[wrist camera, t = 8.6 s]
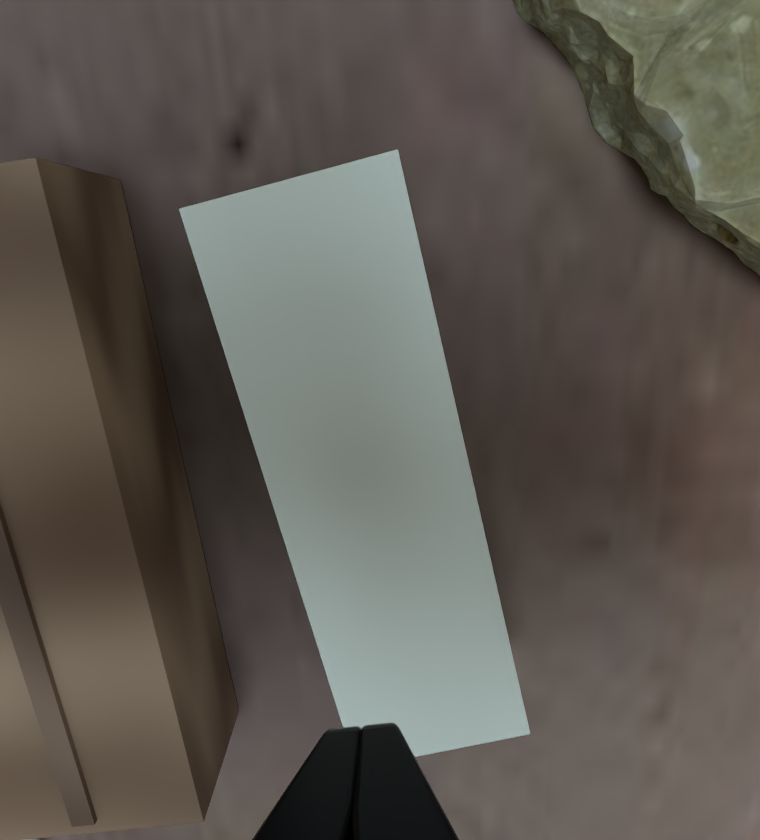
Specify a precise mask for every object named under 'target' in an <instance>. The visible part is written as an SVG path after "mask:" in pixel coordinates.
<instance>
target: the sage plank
mask: <svg viewBox="0 0 760 840" xmlns="http://www.w3.org/2000/svg"><path fill="white" fill-rule="evenodd" d="M179 211H180V214H181V217H182V221H183V224H184V227H185V230H186V233H187V236H188V239H189V243H190V246H191V249H192V252H193V255H194V258H195V262H196V265H197V268H198V271H199V274H200V277H201V280H202V284H203V287H204V290H205V293H206V296H207V299H208V303H209V306H210V309H211V312H212V315H213V318H214V321H215V325H216V328H217V331H218V334H219V337H220V340H221V344H222V347H223V350H224V353H225V356H226V359H227V362H228V366H229V369H230V372H231V375H232V378H233V381H234V384H235V388H236V391H237V394H238V397H239V400H240V403H241V407H242V410H243V413H244V416H245V419H246V422H247V425H248V429H249V432H250V435H251V438H252V441H253V444H254V448H255V451H256V454H257V457H258V460H259V463H260V466H261V470H262V473H263V476H264V479H265V482H266V485H267V489H268V492H269V495H270V498H271V501H272V504H273V507H274V511H275V514H276V517H277V520H278V523H279V526H280V530H281V533H282V536H283V539H284V542H285V545H286V548H287V552H288V555H289V558H290V561H291V564H292V567H293V571H294V574H295V577H296V580H297V583H298V586H299V589H300V593H301V596H302V599H303V602H304V605H305V608H306V612H307V615H308V618H309V621H310V624H311V627H312V630H313V634H314V637H315V640H316V643H317V646H318V649H319V652H320V656H321V659H322V662H323V665H324V668H325V671H326V675H327V678H328V681H329V684H330V687H331V690H332V693H333V697H334V700H335V703H336V706H337V709H338V712H339V716H340V719H341V722H342V725H343V727H352V726H359V727H360V728H361V729H362V727H364V726H365V725H372V724H382V723H395V724H396V725H397V726H398V727H399V728H400V730H401V732H402V734H403V736H404V738H405V740H406V741H407V743H408V745H409V747H410V749H411V751H412V753H413V755H414V756H415V757H417V756H422V755H427V754H432V753H437V752H442V751H447V750H452V749H457V748H462V747H467V746H472V745H478V744H483V743H488V742H493V741H498V740H503V739H508V738H513V737H518V736H523V735H528V734H530V730H529V726H528V722H527V717H526V713H525V708H524V704H523V700H522V695H521V691H520V686H519V682H518V678H517V673H516V669H515V664H514V660H513V656H512V651H511V647H510V642H509V638H508V633H507V629H506V625H505V620H504V616H503V611H502V607H501V603H500V598H499V594H498V589H497V585H496V581H495V576H494V572H493V567H492V563H491V558H490V554H489V550H488V545H487V541H486V536H485V532H484V528H483V523H482V519H481V514H480V510H479V506H478V501H477V497H476V492H475V488H474V483H473V479H472V475H471V470H470V466H469V461H468V457H467V453H466V448H465V444H464V439H463V435H462V431H461V426H460V422H459V417H458V413H457V408H456V404H455V400H454V395H453V391H452V386H451V382H450V378H449V373H448V369H447V364H446V360H445V356H444V351H443V347H442V342H441V338H440V334H439V329H438V325H437V320H436V316H435V311H434V307H433V303H432V298H431V294H430V289H429V285H428V281H427V276H426V272H425V267H424V263H423V259H422V254H421V250H420V245H419V241H418V236H417V232H416V228H415V223H414V219H413V214H412V210H411V206H410V201H409V197H408V192H407V188H406V184H405V179H404V175H403V170H402V166H401V161H400V157H399V153H398V149H397V150H393V151H390V152H386V153H382V154H379V155H375V156H371V157H367V158H364V159H360V160H356V161H353V162H349V163H345V164H342V165H338V166H334V167H331V168H327V169H323V170H320V171H316V172H312V173H309V174H305V175H301V176H298V177H294V178H290V179H287V180H283V181H279V182H276V183H272V184H268V185H265V186H261V187H257V188H254V189H250V190H246V191H243V192H239V193H235V194H232V195H228V196H224V197H220V198H217V199H213V200H209V201H206V202H202V203H198V204H195V205H191V206H187V207H184V208H180V209H179Z"/></svg>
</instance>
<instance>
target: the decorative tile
mask: <svg viewBox="0 0 760 840" xmlns="http://www.w3.org/2000/svg"><path fill="white" fill-rule="evenodd" d="M513 2H514V6H515V9H516V13H517V14H518V15H519V16H520V17H521V18H522V19H523V20H524V21H525V22H526V23H528V24H530V25H532V26H534V27H536V28H537V29H539V30H540V31H542V32H543V33H544V34H545V35H546V36H547V37H548V38H549V39H550V40H551V41H552V42H553V44H554V45H555V46H556V48H558V49H559V50H560V51H561V52H562V53H563V54H564V55H565V56H566V58H567V60H568V62H569V63H570V65H571V67H572V69H573V70H574V72H575V74H576V76H577V78H578V81H579V84H580V87H581V90H582V92H583V94H584V95H585V101H586V105H587V109H588V112H589V115H590V118H591V122H592V125H593V127H594V129H595V131H596V132H597V133H598V134H599V136H600V137H601V138H602V139H603V140H604V141H605V142H606V143H608V144H609V145H610V146H612V147H614V148H616V149H618V150H620V151H621V152H623V153H625V154H626V155H628V156H629V157H632V158H634V159H635V160H636V161H637V162H638V163H639V164H640V166H641V167H642V169H643V171H644V173H645V174H646V176H647V178H648V181H649V185H650V188H651V190H653V191H654V192H656V193H658V194H661V195H665V196H666V197H667V198H668V200H669V201H670V202H671V204H672V205H673V206H674V207H675V208H676V210H678V211H679V212H680V213H682V214H683V215H684V216H685V218H686V219H687V220H688V221H689V222H690V223H691V224H692V225H693V226H694V227H696V228H697V229H699V230H700V231H701V232H703V233H705V234H707V235H709V236H711V237H713V238H714V239H716V240H718V241H719V242H721V243H722V244H724V245H725V246H726V247H727V248H729V249H731V250H732V251H733V252H735V253H736V255H737V256H738V257H739V259H740V260H741V261H742V263H744V264H745V265H746V266H748V267H749V268H751V269H752V270H754V271H755V272H756V273H757V274H758V275H759V276H760V0H513Z"/></svg>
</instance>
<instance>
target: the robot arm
mask: <svg viewBox="0 0 760 840" xmlns="http://www.w3.org/2000/svg"><path fill="white" fill-rule="evenodd" d="M252 840H459V839H458V837H457V835H456V833H455V831H454V829H453V828H452V826H451V824H450V822H449V820H448V818H447V816H446V814H445V813H444V811H443V809H442V807H441V805H440V803H439V801H438V799H437V798H436V796H435V794H434V792H433V790H432V788H431V786H430V785H429V783H428V781H427V779H426V777H425V775H424V773H423V771H422V770H421V768H420V766H419V764H418V762H417V760H416V758H415V756H414V755H413V753H412V751H411V749H410V747H409V745H408V743H407V741H406V740H405V738H404V736H403V734H402V732H401V730H400V728H399V727H398V726H397V725H396V724H395V723H382V724H372V725H365V726H364V727H362V729H361V728H360V727H359V726H352V727H343V728H333V729H329V730H327V731H326V732H325V733H324V734H323V735H322V737H321V738H320V740H319V741H318V743H317V744H316V746H315V747H314V749H313V750H312V752H311V753H310V755H309V756H308V758H307V759H306V761H305V762H304V764H303V765H302V767H301V768H300V769H299V771H298V772H297V774H296V775H295V777H294V778H293V780H292V781H291V783H290V784H289V786H288V787H287V789H286V790H285V792H284V793H283V795H282V796H281V798H280V799H279V801H278V802H277V804H276V805H275V807H274V808H273V810H272V811H271V812H270V814H269V815H268V817H267V818H266V820H265V821H264V823H263V824H262V826H261V827H260V829H259V830H258V832H257V833H256V835H255V836H254V838H253V839H252Z"/></svg>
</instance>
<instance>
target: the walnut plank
mask: <svg viewBox="0 0 760 840" xmlns="http://www.w3.org/2000/svg"><path fill="white" fill-rule="evenodd" d="M238 712H239V711H238V706H237V702H236V697H235V693H234V688H233V684H232V679H231V675H230V670H229V666H228V662H227V657H226V653H225V648H224V644H223V639H222V635H221V630H220V626H219V621H218V617H217V612H216V608H215V603H214V599H213V594H212V590H211V585H210V581H209V576H208V572H207V567H206V563H205V558H204V554H203V549H202V545H201V540H200V536H199V531H198V527H197V522H196V518H195V513H194V509H193V504H192V500H191V495H190V491H189V486H188V482H187V477H186V473H185V468H184V464H183V459H182V455H181V450H180V446H179V441H178V437H177V432H176V428H175V423H174V419H173V414H172V410H171V405H170V401H169V396H168V392H167V387H166V383H165V378H164V374H163V369H162V365H161V360H160V356H159V351H158V347H157V342H156V338H155V333H154V329H153V324H152V320H151V315H150V311H149V306H148V302H147V297H146V293H145V288H144V284H143V280H142V275H141V271H140V266H139V262H138V257H137V253H136V248H135V244H134V239H133V235H132V230H131V226H130V221H129V217H128V212H127V208H126V203H125V199H124V194H123V190H122V185H121V181H120V180H119V179H116V178H112V177H108V176H104V175H100V174H96V173H93V172H89V171H85V170H81V169H77V168H73V167H70V166H66V165H62V164H58V163H54V162H50V161H47V160H43V159H39V158H29V159H22V160H15V161H8V162H1V163H0V840H23V839H33V838H44V837H54V836H64V835H74V834H85V833H95V832H105V831H116V830H126V829H136V828H146V827H157V826H167V825H177V824H187V823H198V822H204V819H205V816H206V813H207V810H208V807H209V803H210V800H211V797H212V794H213V791H214V788H215V785H216V781H217V778H218V775H219V772H220V769H221V766H222V763H223V759H224V756H225V753H226V750H227V747H228V744H229V740H230V737H231V734H232V731H233V728H234V725H235V722H236V718H237V715H238Z"/></svg>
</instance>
